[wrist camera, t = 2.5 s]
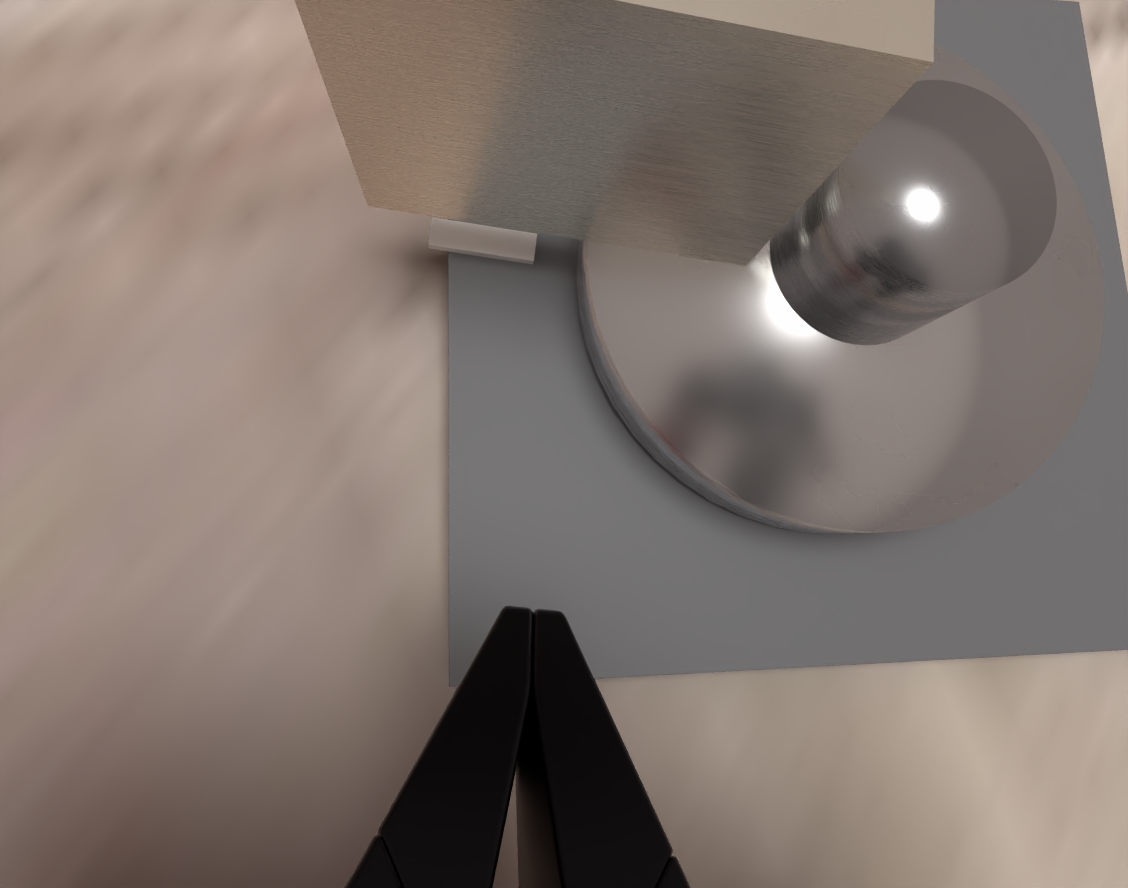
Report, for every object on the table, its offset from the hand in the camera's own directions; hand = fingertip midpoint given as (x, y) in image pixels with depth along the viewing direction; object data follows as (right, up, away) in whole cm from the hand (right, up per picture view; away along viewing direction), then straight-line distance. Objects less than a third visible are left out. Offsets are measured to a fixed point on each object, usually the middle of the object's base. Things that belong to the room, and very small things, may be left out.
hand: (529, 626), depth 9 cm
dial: (+5, +7, +7) cm, 11 cm away
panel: (+7, +6, +8) cm, 12 cm away
